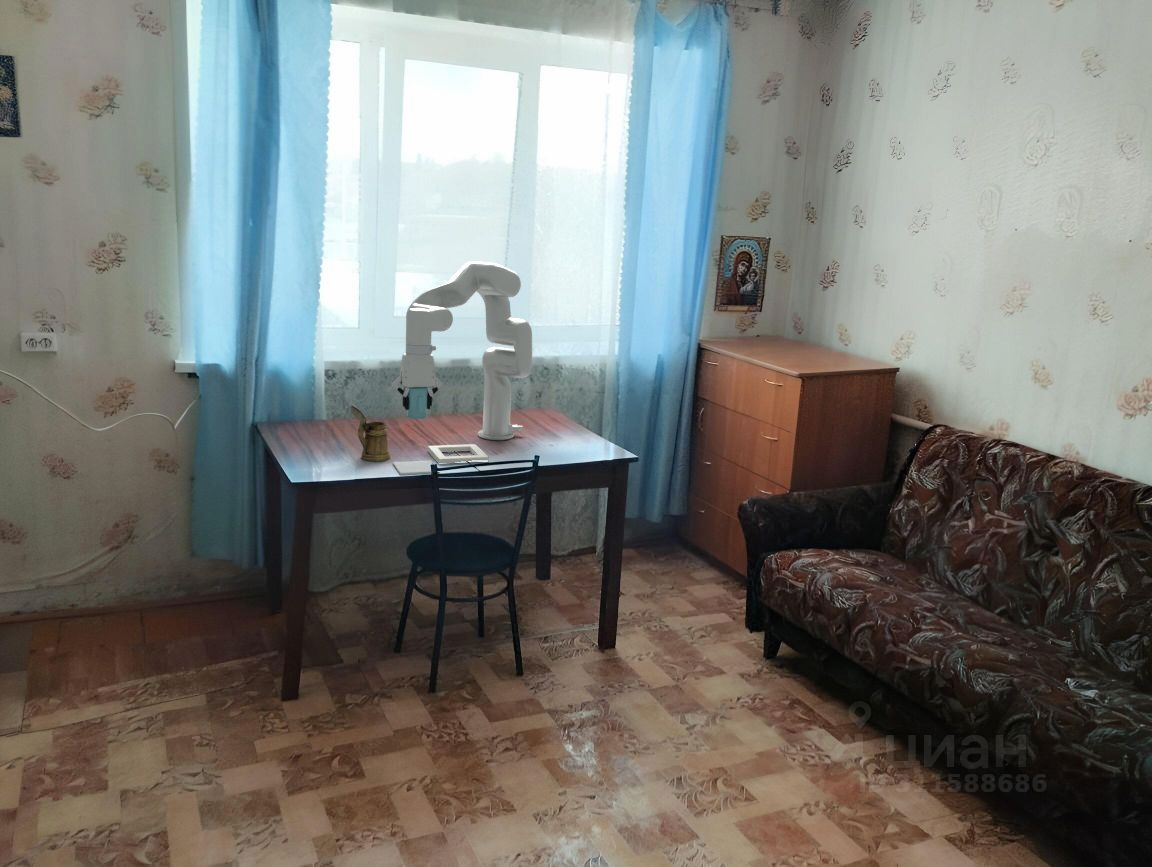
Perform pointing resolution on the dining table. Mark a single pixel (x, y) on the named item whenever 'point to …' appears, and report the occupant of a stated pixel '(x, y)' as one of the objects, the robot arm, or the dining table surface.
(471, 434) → the dining table surface
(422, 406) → the jug
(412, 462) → the tile
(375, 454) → the wooden mug
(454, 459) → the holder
